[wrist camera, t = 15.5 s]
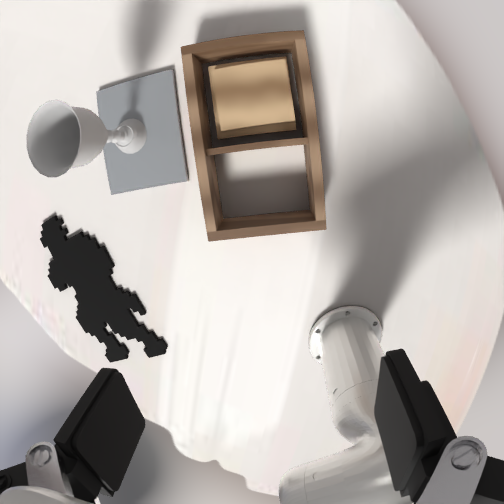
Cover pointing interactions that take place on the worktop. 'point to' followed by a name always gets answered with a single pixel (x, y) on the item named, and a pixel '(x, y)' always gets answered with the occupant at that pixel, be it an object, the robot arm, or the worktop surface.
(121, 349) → the black silhouette cutout
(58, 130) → the chalice
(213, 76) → the oak offcut top
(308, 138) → the walnut crate
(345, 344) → the robot arm
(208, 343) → the worktop surface
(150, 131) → the slate mat
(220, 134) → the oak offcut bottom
